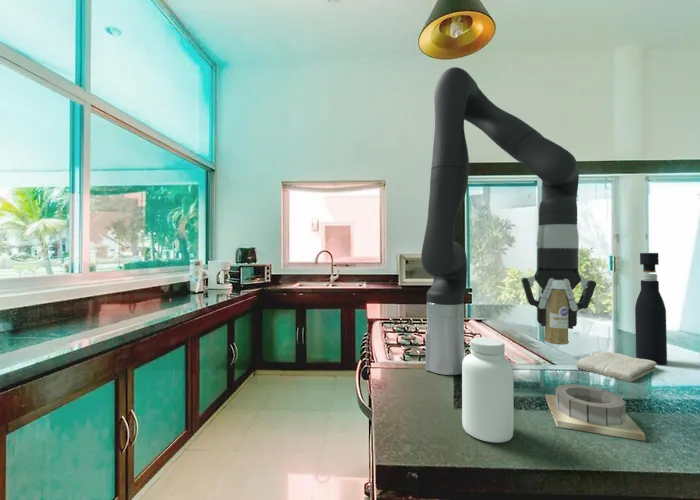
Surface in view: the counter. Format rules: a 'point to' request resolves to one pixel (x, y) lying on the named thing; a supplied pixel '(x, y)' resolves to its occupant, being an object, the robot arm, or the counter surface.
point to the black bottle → (650, 315)
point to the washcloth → (616, 365)
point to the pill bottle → (487, 391)
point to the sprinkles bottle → (557, 314)
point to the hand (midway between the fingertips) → (556, 326)
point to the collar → (592, 411)
